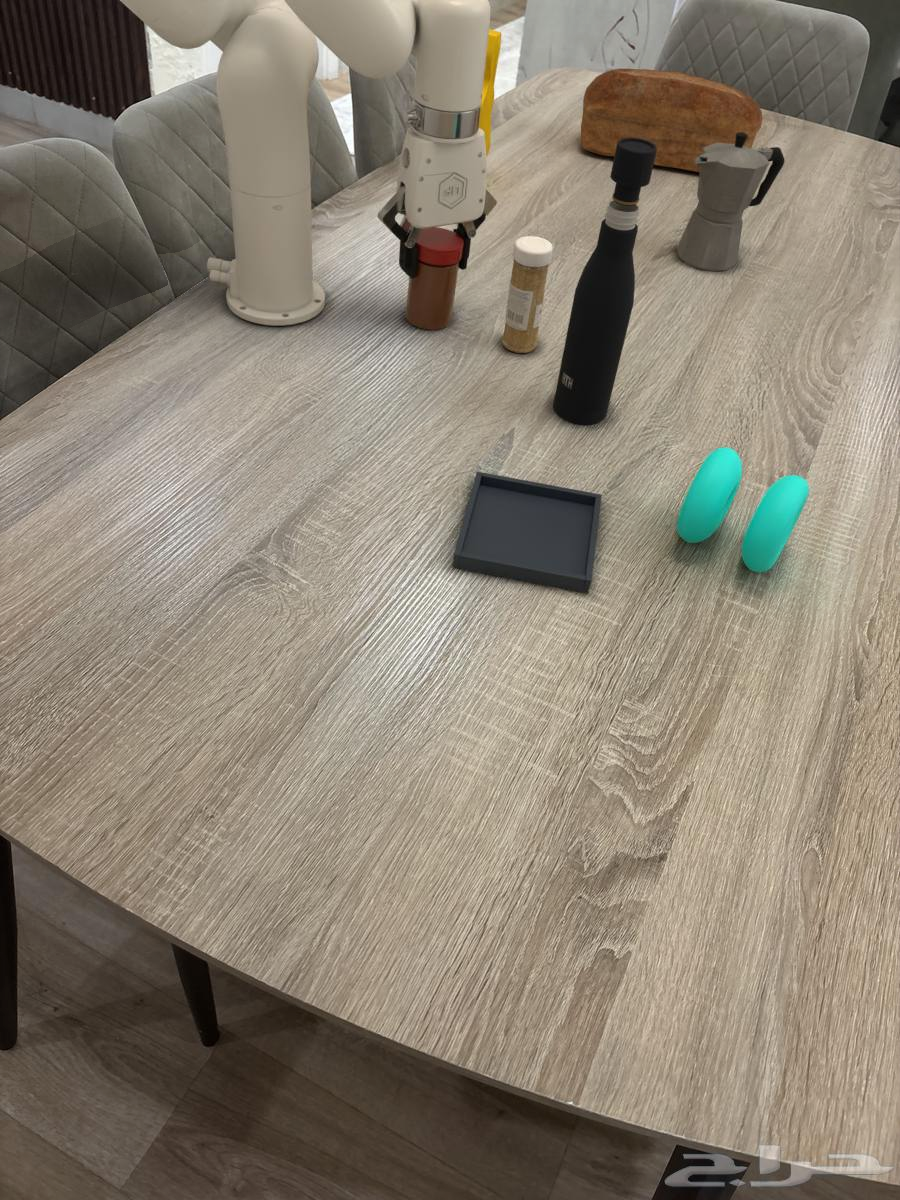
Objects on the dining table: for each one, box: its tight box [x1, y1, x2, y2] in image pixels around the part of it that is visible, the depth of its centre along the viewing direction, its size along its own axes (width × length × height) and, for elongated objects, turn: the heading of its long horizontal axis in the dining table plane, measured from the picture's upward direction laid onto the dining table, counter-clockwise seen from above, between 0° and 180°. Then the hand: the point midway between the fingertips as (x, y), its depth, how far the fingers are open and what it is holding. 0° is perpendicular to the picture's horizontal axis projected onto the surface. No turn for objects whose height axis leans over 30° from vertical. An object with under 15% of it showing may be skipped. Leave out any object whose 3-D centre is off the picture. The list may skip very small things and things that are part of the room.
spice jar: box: [501, 235, 554, 354], centre depth 115 cm, size 5×5×13 cm
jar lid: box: [415, 227, 464, 265], centre depth 115 cm, size 6×6×2 cm
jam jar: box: [404, 260, 460, 331], centre depth 119 cm, size 6×6×10 cm
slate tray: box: [452, 471, 603, 594], centre depth 94 cm, size 13×13×2 cm
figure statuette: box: [479, 28, 502, 158], centre depth 147 cm, size 18×8×22 cm, turn 159°
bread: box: [580, 68, 763, 173], centre depth 164 cm, size 12×31×14 cm, turn 76°
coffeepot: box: [676, 132, 785, 272], centre depth 136 cm, size 15×9×18 cm, turn 113°
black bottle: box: [552, 138, 657, 426], centre depth 100 cm, size 6×6×30 cm
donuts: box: [676, 446, 810, 573], centre depth 92 cm, size 10×10×10 cm
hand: (433, 267), depth 118 cm, fingers closed on jar lid, 6 cm apart
